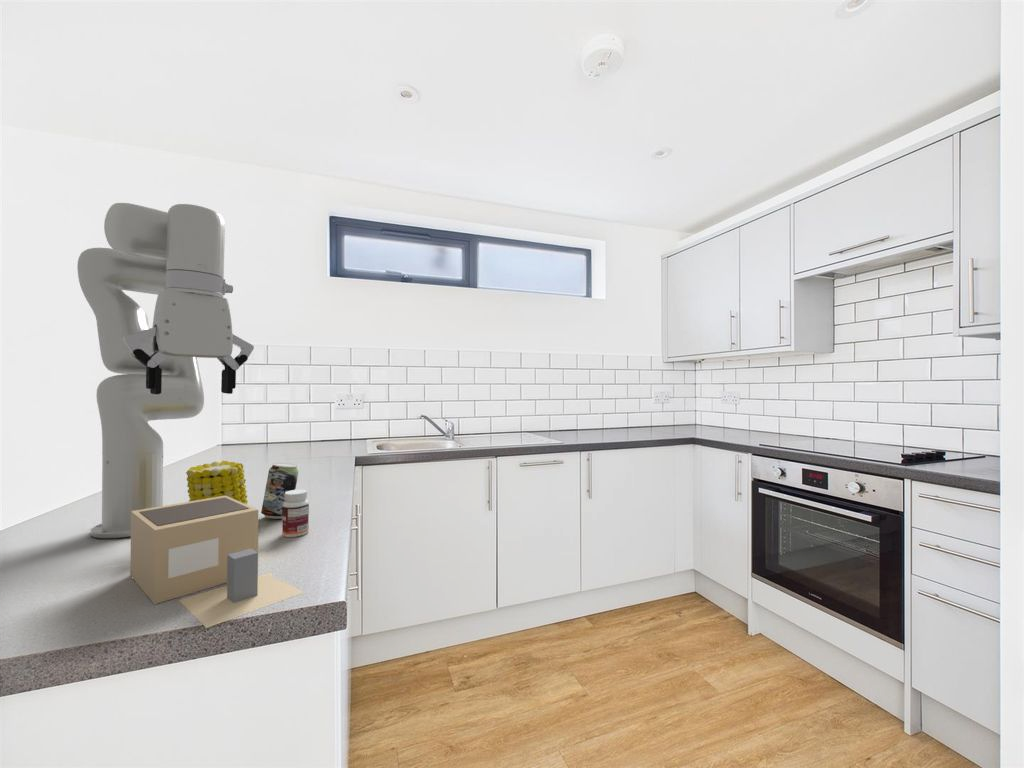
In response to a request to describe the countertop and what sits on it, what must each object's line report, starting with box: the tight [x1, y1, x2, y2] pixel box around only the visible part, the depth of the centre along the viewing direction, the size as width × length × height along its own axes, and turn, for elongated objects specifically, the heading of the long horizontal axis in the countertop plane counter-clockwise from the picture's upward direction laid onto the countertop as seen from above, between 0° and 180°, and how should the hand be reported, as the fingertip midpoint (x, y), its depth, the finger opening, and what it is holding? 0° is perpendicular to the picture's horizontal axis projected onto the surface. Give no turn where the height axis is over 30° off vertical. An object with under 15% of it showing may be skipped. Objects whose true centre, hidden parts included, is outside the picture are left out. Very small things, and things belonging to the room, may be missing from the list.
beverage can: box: [260, 462, 299, 519], centre depth 100 cm, size 6×7×12 cm
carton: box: [129, 496, 259, 605], centre depth 70 cm, size 14×13×10 cm
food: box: [185, 460, 248, 505], centre depth 88 cm, size 15×12×10 cm
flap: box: [178, 549, 304, 629], centre depth 63 cm, size 11×12×6 cm
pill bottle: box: [281, 489, 310, 538], centre depth 89 cm, size 5×5×8 cm
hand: (193, 393), depth 72 cm, fingers open, 9 cm apart
